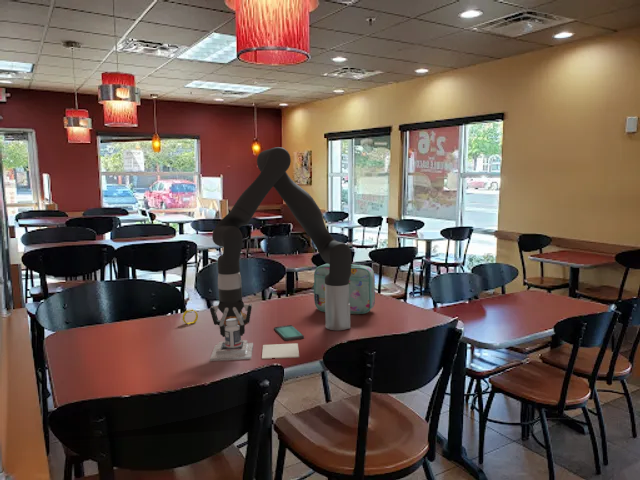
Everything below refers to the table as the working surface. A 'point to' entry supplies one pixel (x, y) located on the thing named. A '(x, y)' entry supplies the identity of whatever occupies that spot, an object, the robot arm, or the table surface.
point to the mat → (280, 351)
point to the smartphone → (288, 333)
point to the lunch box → (358, 288)
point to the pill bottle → (232, 333)
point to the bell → (236, 318)
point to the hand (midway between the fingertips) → (232, 335)
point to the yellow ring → (190, 311)
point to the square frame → (232, 352)
